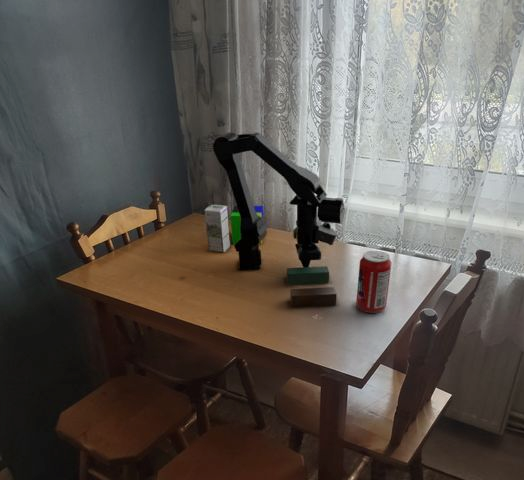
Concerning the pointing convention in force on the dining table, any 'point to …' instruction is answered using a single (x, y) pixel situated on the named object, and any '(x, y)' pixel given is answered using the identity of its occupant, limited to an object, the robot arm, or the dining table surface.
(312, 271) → the green bar
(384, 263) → the soda can
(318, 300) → the walnut bar
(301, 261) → the robot arm
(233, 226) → the puzzle toy
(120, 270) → the dining table surface
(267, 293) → the dining table surface
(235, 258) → the dining table surface
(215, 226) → the syrup box
